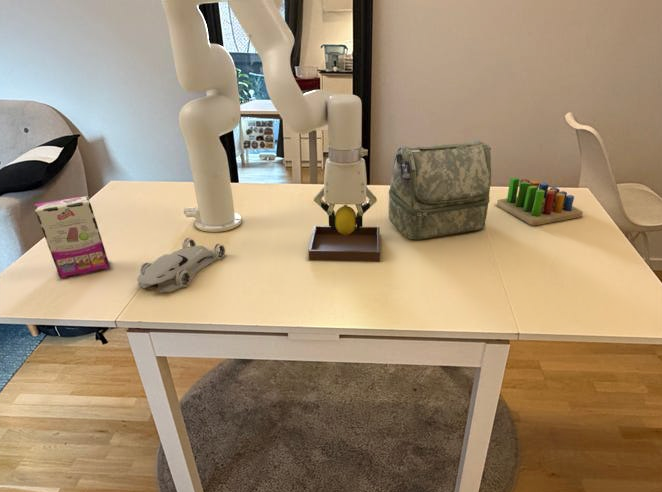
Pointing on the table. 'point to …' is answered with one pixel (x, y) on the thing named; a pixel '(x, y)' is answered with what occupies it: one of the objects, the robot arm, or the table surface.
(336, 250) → the walnut tray
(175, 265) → the car model
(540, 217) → the peg board
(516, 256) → the table surface
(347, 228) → the lemon
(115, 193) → the table surface
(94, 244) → the candy bar box
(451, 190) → the lunch bag
